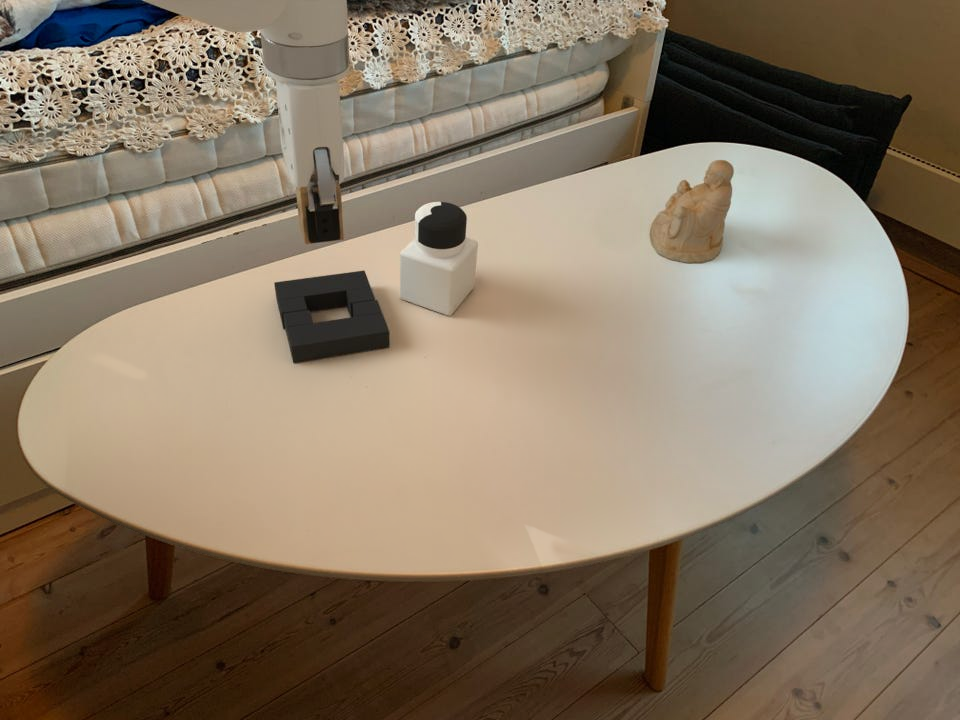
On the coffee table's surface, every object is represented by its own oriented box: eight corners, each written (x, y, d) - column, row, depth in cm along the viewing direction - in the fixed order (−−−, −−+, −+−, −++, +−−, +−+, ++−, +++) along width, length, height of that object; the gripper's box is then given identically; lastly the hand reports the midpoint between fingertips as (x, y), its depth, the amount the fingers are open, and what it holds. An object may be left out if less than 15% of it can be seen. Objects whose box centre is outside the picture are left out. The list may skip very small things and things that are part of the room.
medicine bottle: (475, 287, 99) (482, 205, 91) (450, 318, 95) (455, 234, 86) (425, 270, 101) (428, 189, 93) (398, 299, 96) (399, 216, 88)
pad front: (293, 363, 87) (291, 346, 85) (285, 329, 91) (283, 313, 89) (389, 347, 90) (389, 331, 88) (377, 315, 94) (377, 299, 92)
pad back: (283, 329, 91) (281, 312, 89) (276, 298, 95) (274, 282, 93) (375, 315, 94) (375, 299, 92) (365, 286, 98) (364, 270, 96)
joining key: (305, 244, 80) (300, 193, 76) (299, 223, 82) (294, 173, 78) (344, 239, 81) (341, 188, 77) (336, 219, 84) (333, 169, 80)
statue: (774, 204, 99) (706, 173, 98) (713, 284, 109) (649, 257, 107) (760, 159, 109) (697, 131, 107) (705, 237, 118) (646, 211, 116)
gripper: (252, 20, 74) (273, 190, 86) (275, 95, 62) (296, 279, 75) (331, 17, 76) (341, 184, 88) (368, 88, 64) (373, 269, 77)
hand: (320, 226), depth 81 cm, fingers closed on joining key, 4 cm apart
